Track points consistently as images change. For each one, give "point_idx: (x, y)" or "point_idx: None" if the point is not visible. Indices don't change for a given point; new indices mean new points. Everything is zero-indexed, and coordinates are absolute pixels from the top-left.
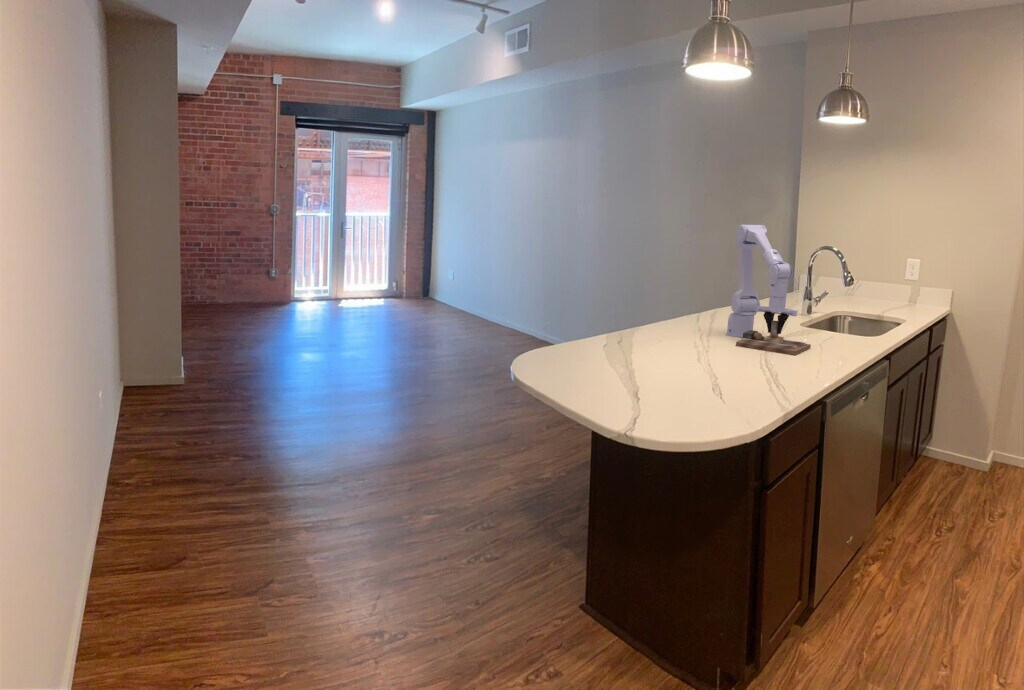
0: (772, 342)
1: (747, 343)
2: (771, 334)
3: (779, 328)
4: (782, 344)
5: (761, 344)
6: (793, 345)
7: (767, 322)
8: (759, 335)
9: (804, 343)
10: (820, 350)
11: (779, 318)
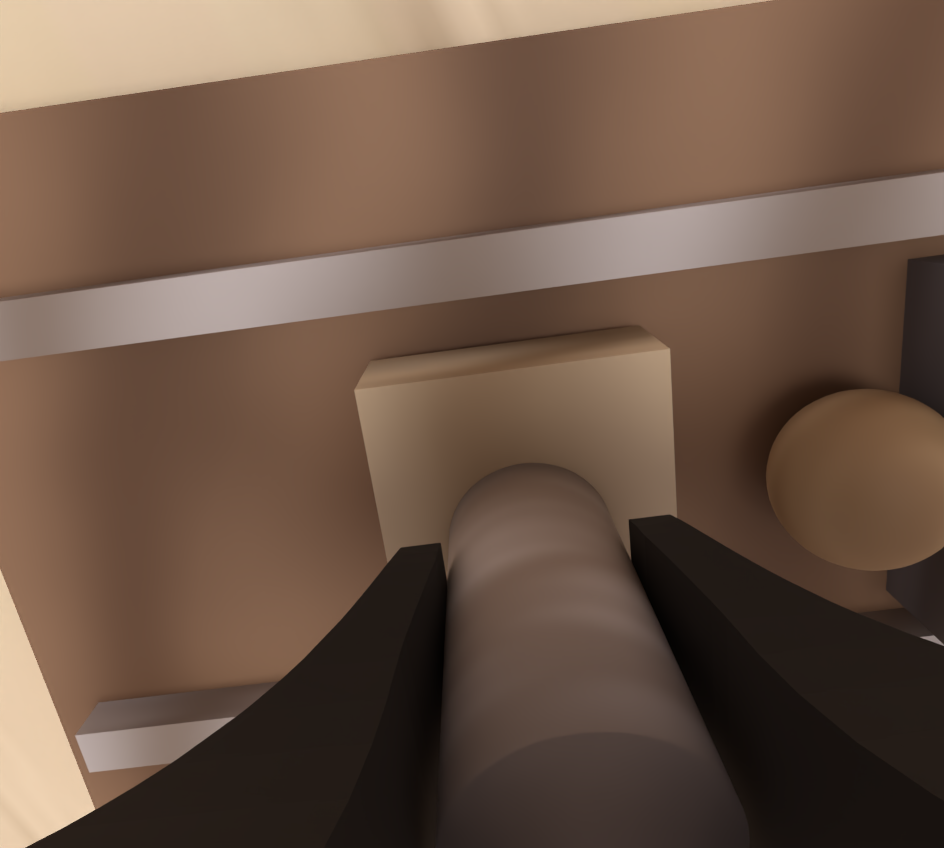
0: (466, 355)
1: (883, 17)
2: (565, 493)
3: (355, 609)
4: (209, 303)
5: (621, 188)
6: (202, 586)
7: (828, 624)
8: (833, 442)
9: (81, 729)
10: (11, 804)
11: (222, 843)
